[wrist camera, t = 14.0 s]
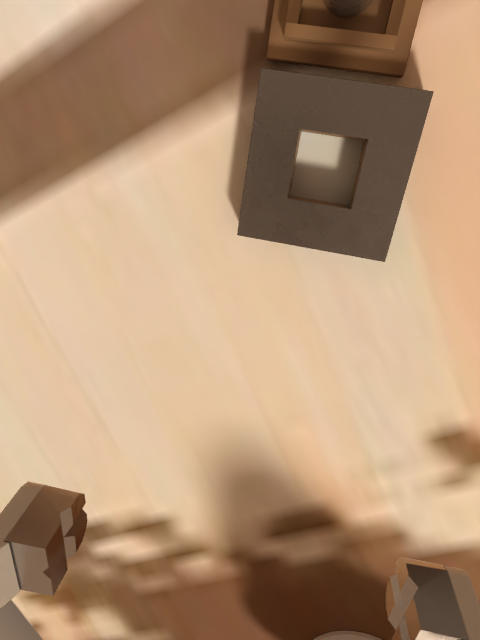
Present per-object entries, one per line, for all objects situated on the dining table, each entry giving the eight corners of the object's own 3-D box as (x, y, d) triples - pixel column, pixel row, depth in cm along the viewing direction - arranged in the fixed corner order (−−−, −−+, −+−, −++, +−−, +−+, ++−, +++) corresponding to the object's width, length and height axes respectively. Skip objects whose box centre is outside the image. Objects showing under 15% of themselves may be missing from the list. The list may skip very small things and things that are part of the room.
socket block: (242, 230, 36) (237, 234, 34) (265, 74, 32) (261, 68, 30) (380, 255, 35) (384, 261, 33) (424, 96, 30) (433, 91, 28)
